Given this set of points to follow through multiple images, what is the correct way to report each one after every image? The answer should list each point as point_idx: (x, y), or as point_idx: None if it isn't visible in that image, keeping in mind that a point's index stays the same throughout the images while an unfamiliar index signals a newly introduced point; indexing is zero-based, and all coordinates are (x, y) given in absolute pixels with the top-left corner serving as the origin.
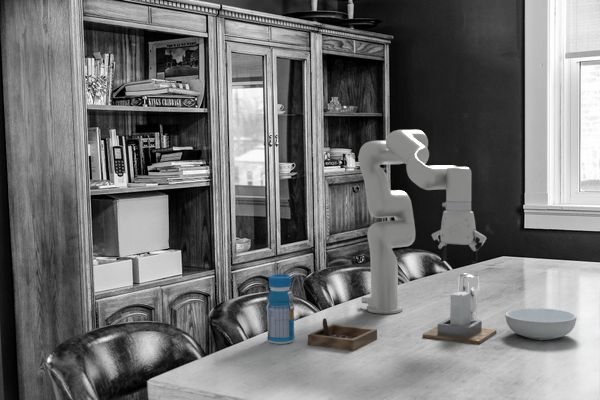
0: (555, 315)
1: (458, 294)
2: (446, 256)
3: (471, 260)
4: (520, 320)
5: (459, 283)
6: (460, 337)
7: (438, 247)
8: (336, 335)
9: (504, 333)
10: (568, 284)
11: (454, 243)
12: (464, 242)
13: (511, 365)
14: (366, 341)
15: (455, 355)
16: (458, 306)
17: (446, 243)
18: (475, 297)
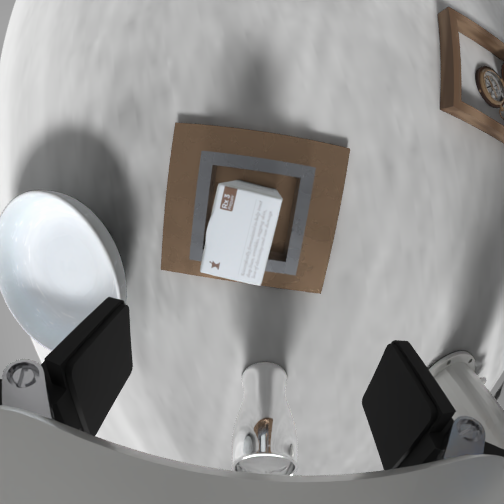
0: (51, 336)
1: (244, 208)
2: (369, 419)
3: (106, 311)
4: (61, 196)
5: (291, 439)
6: (234, 142)
7: (476, 422)
8: (502, 100)
9: (145, 267)
10: None
11: (296, 479)
12: (43, 446)
13: (99, 6)
14: (444, 58)
15: (218, 10)
16: (243, 185)
17: (440, 460)
18: (241, 410)
